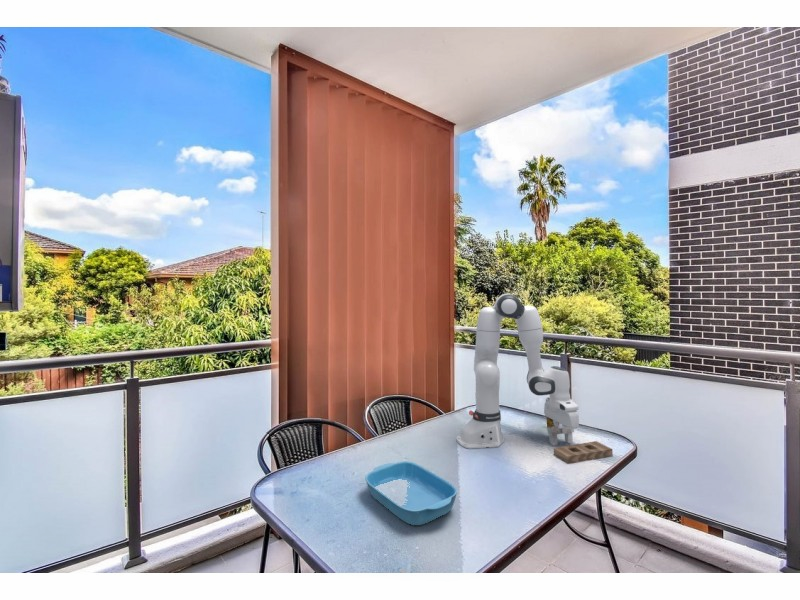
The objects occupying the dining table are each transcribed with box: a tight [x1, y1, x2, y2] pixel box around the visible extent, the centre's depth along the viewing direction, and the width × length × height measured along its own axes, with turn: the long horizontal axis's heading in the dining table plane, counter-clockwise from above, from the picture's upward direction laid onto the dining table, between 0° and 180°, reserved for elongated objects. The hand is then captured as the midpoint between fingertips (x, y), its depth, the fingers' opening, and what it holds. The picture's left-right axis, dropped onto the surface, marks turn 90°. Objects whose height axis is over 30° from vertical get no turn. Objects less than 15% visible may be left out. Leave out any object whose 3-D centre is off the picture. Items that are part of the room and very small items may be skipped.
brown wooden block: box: [553, 440, 613, 465], centre depth 162 cm, size 22×9×3 cm, turn 104°
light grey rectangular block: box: [546, 425, 575, 447], centre depth 176 cm, size 12×3×8 cm, turn 104°
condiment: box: [542, 417, 560, 429], centre depth 196 cm, size 7×8×12 cm
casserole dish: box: [364, 461, 458, 526], centre depth 132 cm, size 37×22×7 cm, turn 34°
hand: (560, 431), depth 175 cm, fingers closed on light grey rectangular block, 3 cm apart
